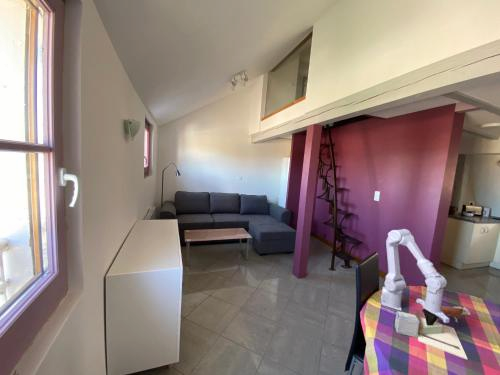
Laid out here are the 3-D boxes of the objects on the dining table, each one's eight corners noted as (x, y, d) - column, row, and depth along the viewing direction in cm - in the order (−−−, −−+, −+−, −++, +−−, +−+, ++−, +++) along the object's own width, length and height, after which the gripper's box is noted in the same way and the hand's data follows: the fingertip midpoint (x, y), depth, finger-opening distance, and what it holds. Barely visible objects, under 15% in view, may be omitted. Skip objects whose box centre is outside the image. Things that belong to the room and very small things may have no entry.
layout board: (418, 341, 95) (418, 340, 95) (412, 315, 112) (413, 314, 112) (467, 359, 87) (467, 358, 87) (453, 329, 104) (453, 327, 103)
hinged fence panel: (419, 335, 98) (420, 327, 97) (416, 332, 99) (417, 325, 99) (444, 333, 100) (445, 326, 99) (440, 330, 101) (441, 323, 101)
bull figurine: (470, 325, 106) (473, 310, 105) (439, 320, 109) (442, 306, 108) (463, 319, 111) (466, 305, 110) (434, 314, 113) (436, 300, 112)
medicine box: (413, 331, 101) (415, 314, 100) (417, 338, 97) (419, 321, 96) (394, 326, 103) (396, 310, 102) (397, 333, 99) (399, 316, 98)
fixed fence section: (417, 331, 100) (418, 324, 100) (414, 317, 110) (415, 309, 110) (421, 333, 99) (422, 325, 99) (417, 318, 109) (418, 311, 109)
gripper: (456, 309, 95) (452, 336, 97) (426, 290, 109) (422, 314, 111) (443, 310, 94) (439, 337, 96) (414, 290, 108) (411, 315, 110)
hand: (429, 325), depth 103 cm, fingers closed
